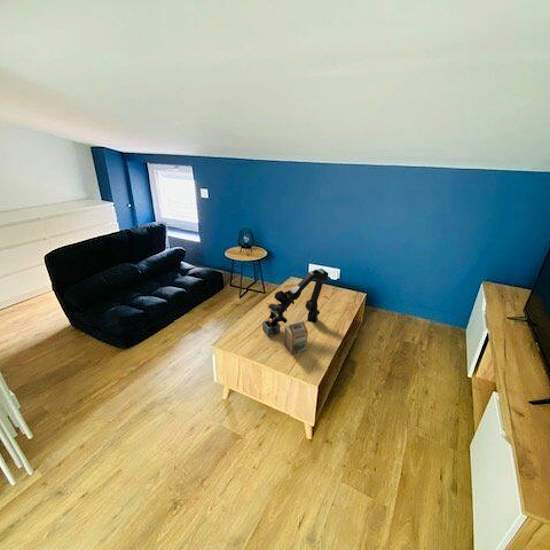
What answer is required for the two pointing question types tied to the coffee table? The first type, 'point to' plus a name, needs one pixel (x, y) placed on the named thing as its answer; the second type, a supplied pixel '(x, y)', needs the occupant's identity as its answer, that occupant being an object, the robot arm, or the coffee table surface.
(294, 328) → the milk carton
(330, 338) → the coffee table surface
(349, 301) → the coffee table surface
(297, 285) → the robot arm
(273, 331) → the press
